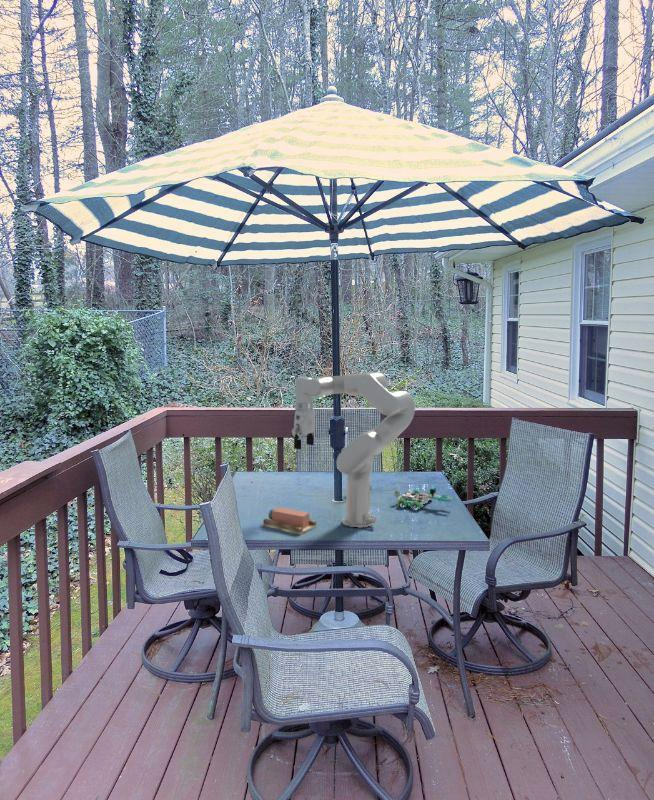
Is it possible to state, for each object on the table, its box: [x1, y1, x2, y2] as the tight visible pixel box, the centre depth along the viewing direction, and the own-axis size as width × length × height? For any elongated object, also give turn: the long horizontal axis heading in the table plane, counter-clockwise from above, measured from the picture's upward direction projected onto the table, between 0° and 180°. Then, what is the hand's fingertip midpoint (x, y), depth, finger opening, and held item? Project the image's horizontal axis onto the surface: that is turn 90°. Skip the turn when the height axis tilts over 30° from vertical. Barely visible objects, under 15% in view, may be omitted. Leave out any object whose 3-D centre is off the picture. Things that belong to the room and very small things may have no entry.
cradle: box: [262, 518, 317, 536], centre depth 237 cm, size 18×11×2 cm, turn 57°
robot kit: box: [394, 486, 454, 510], centre depth 265 cm, size 19×25×9 cm
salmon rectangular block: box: [268, 507, 310, 529], centre depth 237 cm, size 16×5×5 cm, turn 64°
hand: (303, 446), depth 252 cm, fingers open, 9 cm apart
